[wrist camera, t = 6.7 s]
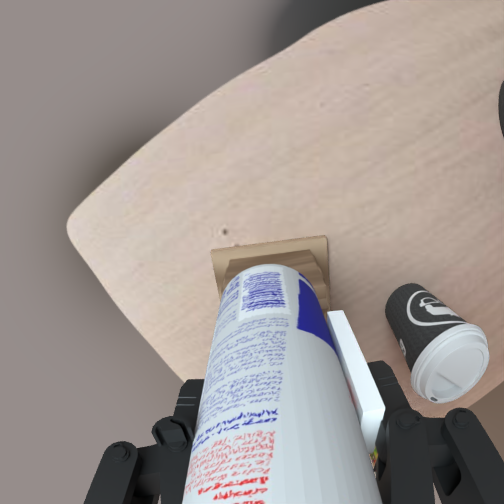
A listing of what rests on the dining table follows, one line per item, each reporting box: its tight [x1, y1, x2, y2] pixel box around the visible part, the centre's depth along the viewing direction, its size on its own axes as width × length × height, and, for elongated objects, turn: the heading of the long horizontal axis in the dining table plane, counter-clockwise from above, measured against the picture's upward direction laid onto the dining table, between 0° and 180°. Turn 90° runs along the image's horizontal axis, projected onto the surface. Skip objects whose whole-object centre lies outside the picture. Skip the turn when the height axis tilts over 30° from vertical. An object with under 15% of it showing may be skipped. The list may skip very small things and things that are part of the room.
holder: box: [211, 235, 330, 323], centre depth 35 cm, size 21×13×11 cm, turn 8°
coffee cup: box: [385, 283, 489, 403], centre depth 32 cm, size 10×10×15 cm
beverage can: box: [182, 264, 382, 504], centre depth 12 cm, size 6×6×15 cm
